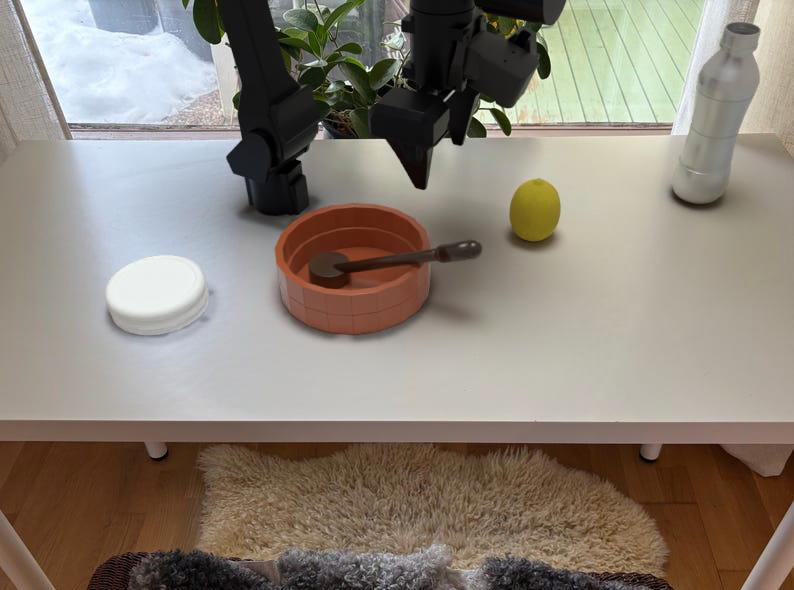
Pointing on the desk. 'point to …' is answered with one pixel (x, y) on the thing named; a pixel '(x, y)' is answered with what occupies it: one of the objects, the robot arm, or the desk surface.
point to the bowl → (366, 291)
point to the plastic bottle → (718, 115)
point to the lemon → (535, 210)
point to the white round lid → (157, 295)
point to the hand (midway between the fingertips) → (440, 165)
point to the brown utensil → (384, 262)
